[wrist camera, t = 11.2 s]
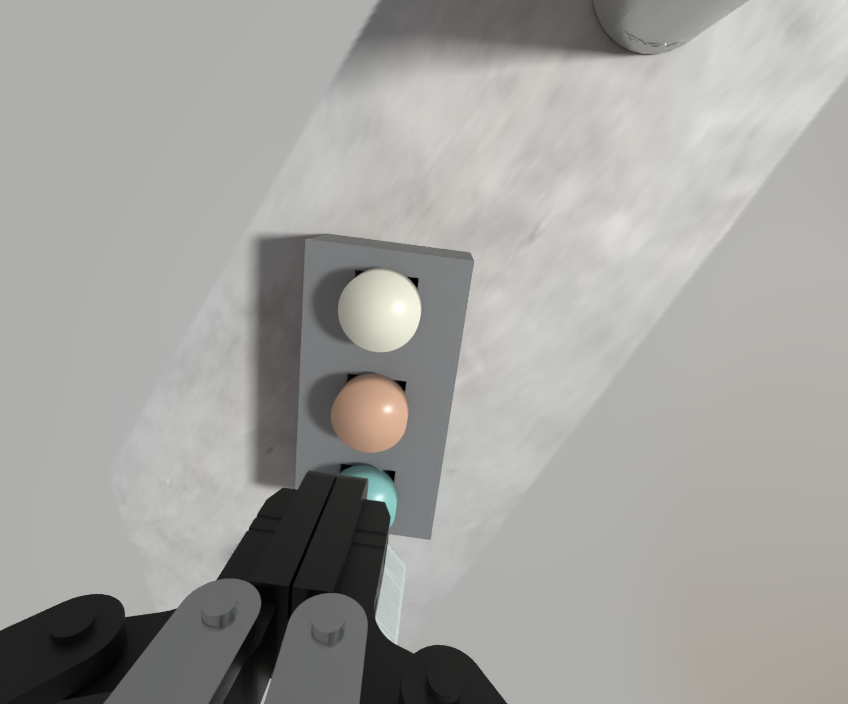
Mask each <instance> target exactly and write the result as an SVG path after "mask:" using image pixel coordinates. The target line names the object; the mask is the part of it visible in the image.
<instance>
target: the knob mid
mask: <svg viewBox="0 0 848 704" xmlns="http://www.w3.org/2000/svg"><path fill="white" fill-rule="evenodd" d="M402 387H403V381H399V380H392V379H390V378H388V377H386V376H383V375H380V374H363V375H359V376H356V377H354V378H353V379H351V380H349V381H348V382H347V383H346V384H345V385H344V386H343V388H342V389H341V391H340V393H339V394H338V396H337V398H336V399H335V401H334V403H333V406H332V409H331V422H332V426H333V429H334V431H335V433H336V434H337V436H338V437H339V438H340V439H341V440H342V441H343V442H344V443H345V444H346V445H348V446H349V447H351V448H353V449H355V450H358V451H361V452H367V453H376V452H381V451H385V450H387V449H389V448H391V447H392V446H394V445H395V444H396V443H397V442H398V441H399V440H400V439H401V437H402V436H403V434H404V432H405V429H406V424H407V419H408V414H409V403H408V399H407V396H406V394H405V392H404V391H403V389H402Z"/></svg>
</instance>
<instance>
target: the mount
mask: <svg viewBox="0 0 848 704" xmlns="http://www.w3.org/2000/svg"><path fill="white" fill-rule="evenodd" d="M473 264H474V260H473V258H472V255H471V253H469V252H461V251H453V250H446V249H438V248H431V247H423V246H416V245H408V244H400V243H393V242H385V241H378V240H370V239H363V238H355V237H347V236H340V235H332V234H324V235H320V236H315V237H311V238H306V239H305V256H304V279H303V303H302V327H301V351H300V375H299V399H298V423H297V447H296V471H295V489H296V490H298V488H299V486H300V484H301V482H302V480H303V479H304V477H305V475H306V473H307V472H308V471H309V470H311V471H318V472H325V473H332V474H339V473H341V472H342V471H343V470H345V469H347V468H349V467H352V465H355V466H358V465H365V466H372V467H375V468H377V469H384V470H391V471H396V472H395V477H390V478H391V479H392V480H393V482H394V483H395V485H396V488H397V491H398V502H397V508H396V513H395V519H394V521H393V524H392V525H391V527H390V528H389V534H393V535H400V536H407V537H414V538H421V539H428V540H430V539H431V533H432V526H433V520H434V513H435V507H436V501H437V494H438V488H439V481H440V475H441V469H442V462H443V456H444V450H445V443H446V437H447V430H448V424H449V418H450V411H451V405H452V398H453V392H454V386H455V379H456V373H457V366H458V360H459V354H460V347H461V341H462V334H463V328H464V322H465V315H466V309H467V303H468V296H469V290H470V283H471V277H472V271H473ZM373 268H390V269H394V270H396V271H399V272H401V273H402V274H404V275H405V276H407V277H414V278H419V281H418V292H419V295H420V298H421V304H422V311H421V317H420V321H419V324H418V327H417V330H416V332H415V334H414V335H413V336H412V338H411V339H410V340H409V341H408V342H407V343H406V344H405V345H403V346H402V347H400V348H398V349H396V350H393V351H388V352H373V351H369V350H366V349H363V348H361V347H359V346H358V345H356V344H355V343H354V342H352V341H351V340H350V339H349V338H348V336H347V335H346V334H345V332H344V331H343V329H342V327H341V324H340V321H339V317H338V304H339V299H340V296H341V294H342V292H343V290H344V289H345V287H346V286H347V285H348V284H349V283H350V282H351V281H352V280H353V279H354V278H356V277H357V276H358V275H360V274H361V273H363V272H365V271H367V270H370V269H373ZM363 374H380V375H383V376H386V377H388V378H390V379H392V380H399V381H406V389H405V394H406V396H407V399H408V403H409V414H408V419H407V424H406V429H405V432H404V434H403V436H402V437H401V439H400V440H399V441H398V442H397V443H396V444H395V445H394V446H392V447H391V448H389V449H387V450H385V451H381V452H376V453H367V452H361V451H358V450H355V449H353V448H351V447H349V446H348V445H346V444H345V443H344V442H343V441H342V440H341V439H340V438H339V437H338V436H337V434H336V433H335V431H334V429H333V426H332V422H331V409H332V406H333V403H334V401H335V399H336V398H337V396H338V394H339V393H340V391H341V389H342V388H343V386H344V385H345V384H346V383H347V382H348V381H349V380H351V379H353V378H354V377H356V376H359V375H363Z"/></svg>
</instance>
